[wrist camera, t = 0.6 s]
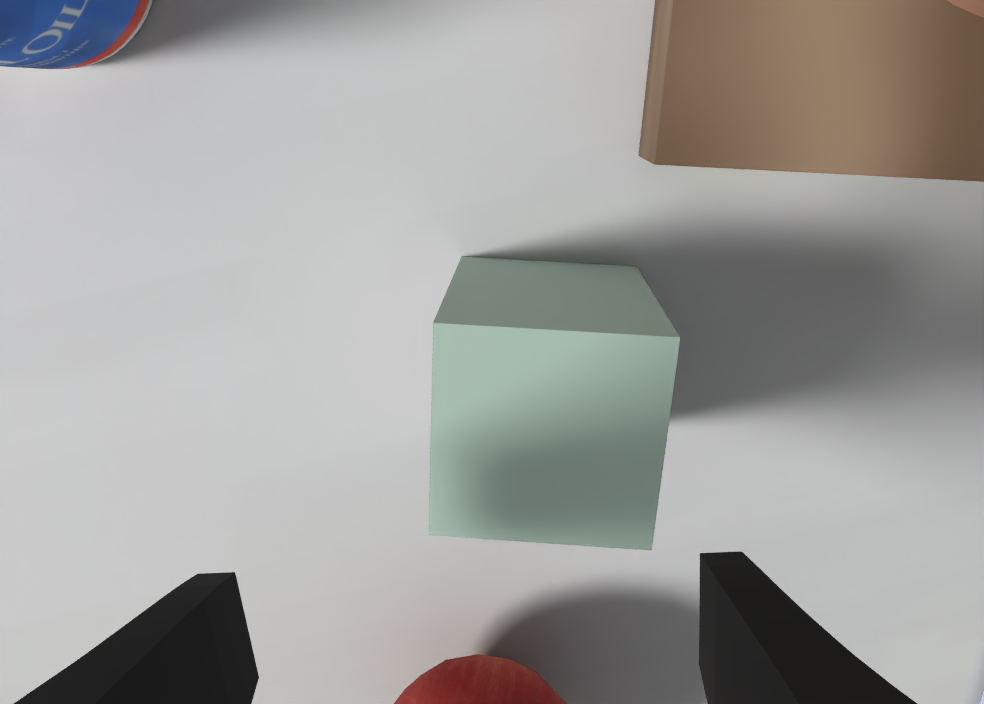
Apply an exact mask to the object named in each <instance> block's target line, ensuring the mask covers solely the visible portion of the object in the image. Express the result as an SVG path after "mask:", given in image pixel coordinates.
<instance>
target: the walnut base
mask: <svg viewBox="0 0 984 704" xmlns="http://www.w3.org/2000/svg"><path fill="white" fill-rule="evenodd" d="M639 156H640V157H642V158H644V159H646V160H648V161H649V162H651V163H653V164H656V165H675V166H695V167H714V168H733V169H753V170H772V171H791V172H811V173H830V174H849V175H868V176H888V177H907V178H926V179H946V180H965V181H984V0H655V8H654V18H653V27H652V36H651V46H650V55H649V64H648V73H647V83H646V92H645V101H644V111H643V120H642V129H641V139H640V148H639Z"/></svg>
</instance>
